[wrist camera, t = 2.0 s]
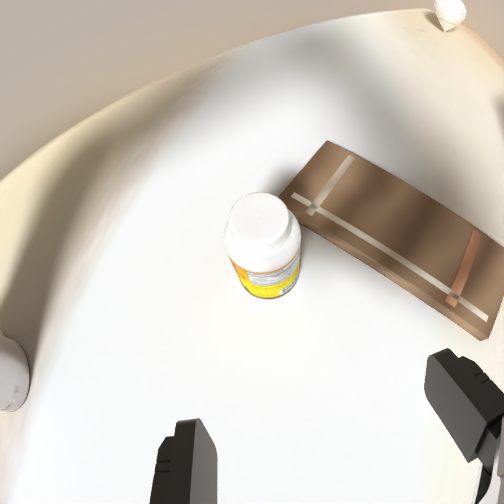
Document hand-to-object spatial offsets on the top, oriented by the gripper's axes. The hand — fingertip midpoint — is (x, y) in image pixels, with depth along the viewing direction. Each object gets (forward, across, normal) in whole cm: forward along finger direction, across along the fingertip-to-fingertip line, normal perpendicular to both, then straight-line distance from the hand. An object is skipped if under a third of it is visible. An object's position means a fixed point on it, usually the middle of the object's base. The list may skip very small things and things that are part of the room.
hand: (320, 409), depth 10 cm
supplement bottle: (+20, 0, +4) cm, 21 cm away
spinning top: (+51, -51, -27) cm, 77 cm away
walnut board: (+21, -14, +3) cm, 25 cm away
